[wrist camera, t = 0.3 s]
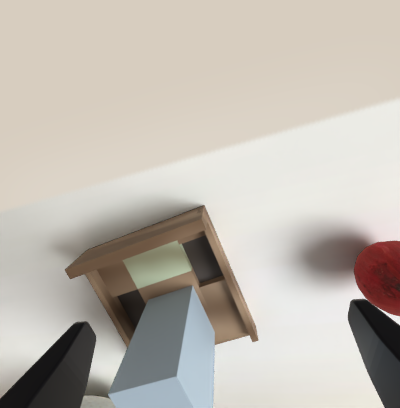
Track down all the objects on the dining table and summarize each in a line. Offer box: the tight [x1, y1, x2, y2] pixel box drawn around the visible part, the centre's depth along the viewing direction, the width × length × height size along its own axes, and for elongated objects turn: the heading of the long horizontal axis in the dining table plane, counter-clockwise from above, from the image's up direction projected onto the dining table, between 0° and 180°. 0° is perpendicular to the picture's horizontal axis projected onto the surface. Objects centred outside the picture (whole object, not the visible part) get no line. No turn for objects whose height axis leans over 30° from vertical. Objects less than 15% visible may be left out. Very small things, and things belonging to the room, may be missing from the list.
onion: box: [354, 241, 400, 316], centre depth 21 cm, size 6×6×8 cm
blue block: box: [108, 285, 215, 408], centre depth 22 cm, size 6×5×10 cm
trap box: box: [65, 206, 258, 348], centre depth 25 cm, size 14×13×4 cm
